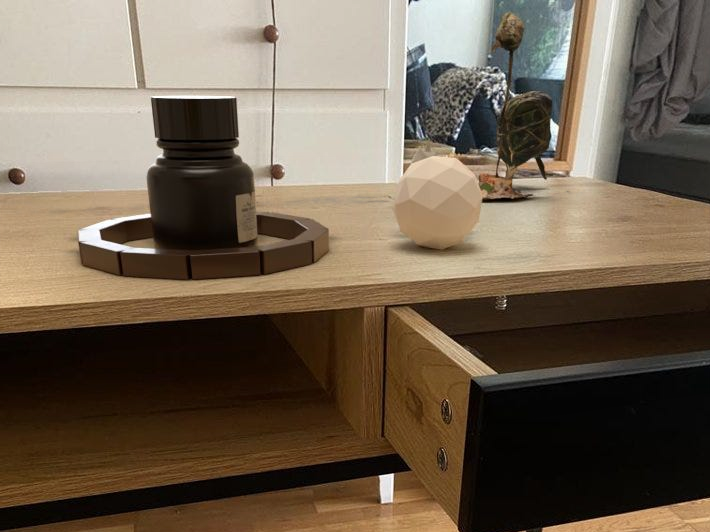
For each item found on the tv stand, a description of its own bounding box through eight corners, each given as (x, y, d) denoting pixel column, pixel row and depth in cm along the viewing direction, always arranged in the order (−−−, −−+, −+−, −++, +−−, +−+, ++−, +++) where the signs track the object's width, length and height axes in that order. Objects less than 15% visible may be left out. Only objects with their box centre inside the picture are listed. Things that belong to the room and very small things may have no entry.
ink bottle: (273, 257, 64) (266, 98, 59) (169, 266, 61) (151, 99, 55) (238, 237, 72) (229, 95, 66) (144, 244, 69) (126, 95, 63)
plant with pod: (558, 202, 94) (582, 11, 84) (467, 202, 93) (481, 10, 83) (538, 193, 101) (558, 16, 91) (454, 193, 100) (465, 14, 90)
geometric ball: (411, 278, 70) (360, 203, 68) (460, 235, 73) (413, 162, 71) (464, 248, 63) (408, 164, 61) (515, 202, 67) (464, 122, 65)
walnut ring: (83, 287, 55) (79, 262, 54) (79, 235, 72) (76, 215, 71) (356, 268, 61) (356, 245, 60) (292, 224, 78) (292, 206, 77)
